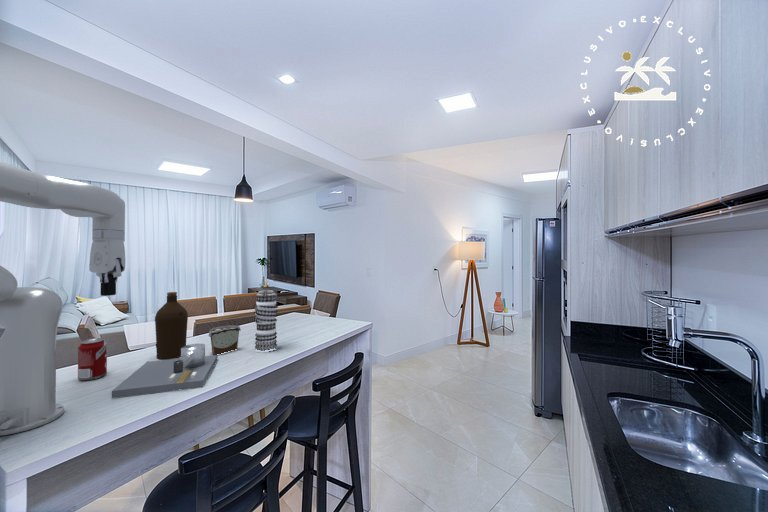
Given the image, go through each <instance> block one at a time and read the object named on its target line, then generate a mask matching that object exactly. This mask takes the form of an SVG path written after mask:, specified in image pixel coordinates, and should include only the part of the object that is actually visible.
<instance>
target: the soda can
mask: <svg viewBox="0 0 768 512" xmlns="http://www.w3.org/2000/svg"><path fill="white" fill-rule="evenodd" d="M107 373H108V343H107V342H106V341H105V338H103V337H96V338H95V337H94V338H89V339H84V340H82V341H81V342H80V345H79V346H78V347H77V379H78V380H81V381H85V380H86V381H92V379H93V380H96V378H97V379H100V378H102V377H104V376H105V375H106V374H107Z"/></svg>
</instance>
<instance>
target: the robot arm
mask: <svg viewBox="0 0 768 512" xmlns="http://www.w3.org/2000/svg"><path fill="white" fill-rule="evenodd" d="M0 202H3V203H7V204H12V205H16V206H21V207H26V208H33V209H43V210H61V211H62V213H64V214H66V215H68V216H70V217H75V218H92V223H91V226H92V228H91V229H92V230H91V231H92V233H91V234H92V238H91V239H92V243H91V246H90V253H89V254H90V255H89V265H88V266H89V267H88V268H89V272H91V273H92V274H94V273H95V275H96V276H97V277H99V283H100V296H101V297H107V296H108V297H109V296H115V295H117V282H118V278H119V277H122V273H123V272H124V271H126V249H125V242H126V241H125V240H126V237H125V236H126V231H125V230H126V203H125V201H124V199H123V198H121V197H120V196H119V195H118V193H115V191H112V190H110V189H107V188H104V187H101V186H97V185H95V184H90V183H86V182H81V181H76V180H71V179H67V178H63V177H59V176H53V175H48V174H44V173H39V172H36V171H32V170H29V169H25V168H22V167H19V166H16V165H13V164H10V163H7V162H4V161H0ZM63 305H64V304H63V300H62V298H61V296H60V295H59V294H58V293H56V292H55V291H53V290H51V289H48V288H44V287H36V286H35V287H34V286H33V287H29V286H28V287H27V286H26V287H25V286H23V287H20V286H19V287H18V280H17V278H16V277H15V275H14V274H13V273H12V272H11V271H9V270H8V269H7V268H6V267H3V266H2V265H0V329H4V331H3V333H2V335H1V336H0V436H1V437H2V436H9V435H13V434H17V433H22V432H26V431H30V430H32V429H35V428H39V427H40V426H44V425H46V424H48V423H51V422H53V421H54V420H55V421H56V420H57V419H58V418H60V417H61V416H62V415H63V414H64V413H65V406H64V405H63V404H59V403H57V402H56V399H57V398H56V397H57V396H56V393H57V391H56V389H57V388H56V387H57V385H56V384H57V333H58V326H59V324H60V323H59V322H60V319H61V317H62V316H61V315H62V312H63V308H64V307H63Z"/></svg>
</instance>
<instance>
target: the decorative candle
mask: <svg viewBox="0 0 768 512" xmlns="http://www.w3.org/2000/svg"><path fill="white" fill-rule="evenodd" d="M255 295H256V301H255V304H256V306H255V307H254V314H255V316H254V318H255V320H254V322H255V324H256V329H255V334H254V335H255V338H254V339H255V341H254V344H255V346H254V348H255V350H256V349H257V350H260V351H265V350H270V349H274V348H275V347H276V348H277V346H278V344H277V342H278V340H277V337H278V336H277V334H278V332H277V325H276V323H277V322H278V319H277V318H276V317H278V310H276V309H277V308H278V307H279V306H278V303H277V293H276V292H275V291H274V290H272V289H261V290H259V291H257V293H256V294H255Z"/></svg>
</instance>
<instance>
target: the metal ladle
mask: <svg viewBox="0 0 768 512" xmlns="http://www.w3.org/2000/svg"><path fill="white" fill-rule="evenodd" d="M205 356H206V344H205V343H190V344H186V346H183V347H181V357H179V358H178V359H179V360H178V361H175V362H174V370H173V373H181V372H183V368H190V367H196V366H200V365H202V364H204V363H205Z"/></svg>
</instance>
